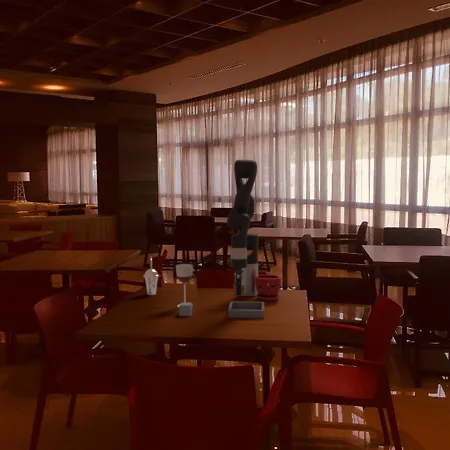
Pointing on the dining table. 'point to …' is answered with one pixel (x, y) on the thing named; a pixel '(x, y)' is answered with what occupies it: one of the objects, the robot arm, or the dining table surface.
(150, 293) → the cup with straw
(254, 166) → the robot arm
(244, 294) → the walnut block
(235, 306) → the tray
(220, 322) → the dining table surface
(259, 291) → the plant pot
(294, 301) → the dining table surface
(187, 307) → the slate block
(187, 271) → the wineglass
